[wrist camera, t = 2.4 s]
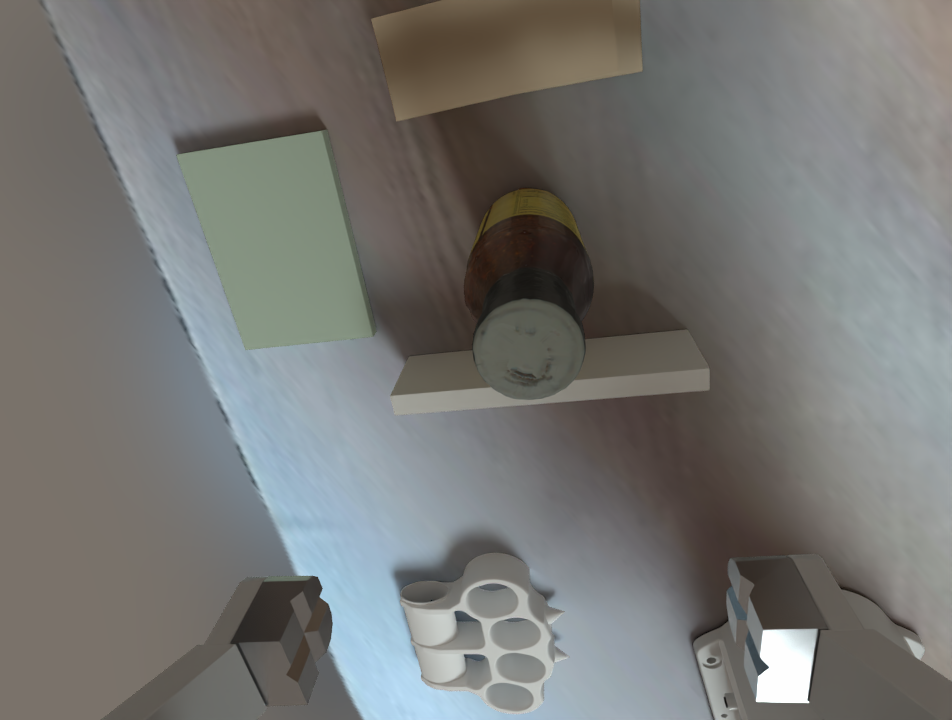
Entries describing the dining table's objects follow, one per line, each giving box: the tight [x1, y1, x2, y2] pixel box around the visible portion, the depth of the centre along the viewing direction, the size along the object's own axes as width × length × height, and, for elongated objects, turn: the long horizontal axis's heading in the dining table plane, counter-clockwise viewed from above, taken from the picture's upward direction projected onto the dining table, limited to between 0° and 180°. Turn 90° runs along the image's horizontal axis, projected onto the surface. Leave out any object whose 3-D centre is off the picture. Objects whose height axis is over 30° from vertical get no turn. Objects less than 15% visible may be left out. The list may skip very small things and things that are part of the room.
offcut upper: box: [371, 0, 619, 121], centre depth 31 cm, size 5×12×2 cm, turn 102°
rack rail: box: [390, 329, 710, 415], centre depth 39 cm, size 2×20×6 cm, turn 99°
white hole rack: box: [400, 553, 569, 714], centre depth 54 cm, size 3×18×15 cm
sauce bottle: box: [464, 188, 594, 400], centre depth 29 cm, size 6×6×20 cm
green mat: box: [176, 130, 377, 350], centre depth 40 cm, size 14×10×1 cm
